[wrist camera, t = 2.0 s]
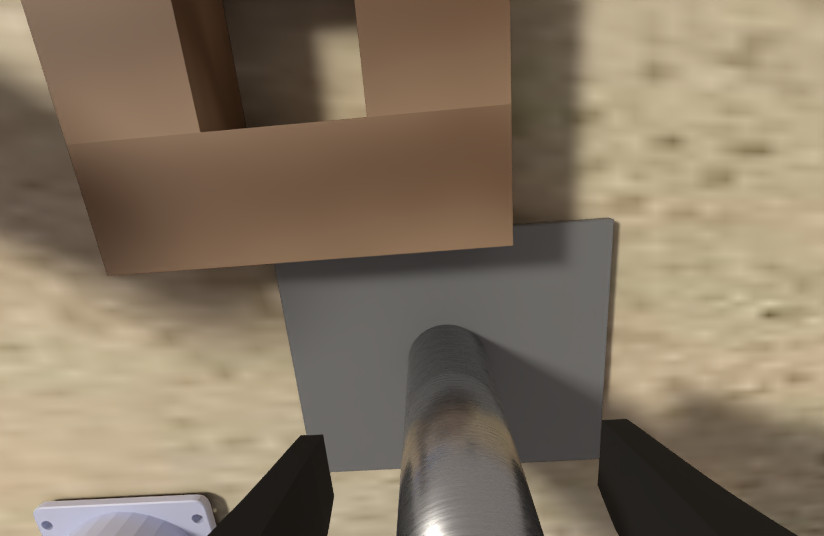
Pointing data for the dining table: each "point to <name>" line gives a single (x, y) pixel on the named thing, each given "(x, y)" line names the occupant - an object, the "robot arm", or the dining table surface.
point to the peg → (459, 445)
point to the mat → (463, 306)
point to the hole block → (280, 136)
